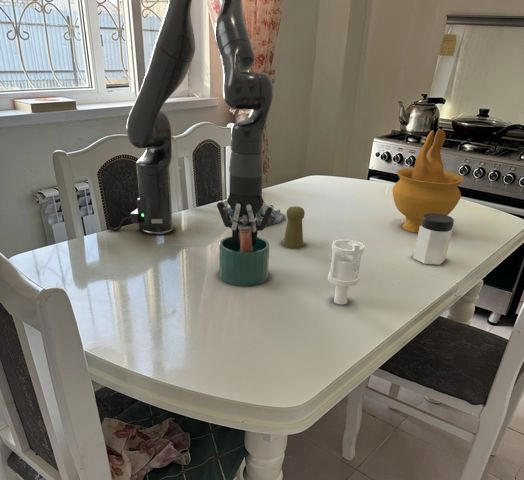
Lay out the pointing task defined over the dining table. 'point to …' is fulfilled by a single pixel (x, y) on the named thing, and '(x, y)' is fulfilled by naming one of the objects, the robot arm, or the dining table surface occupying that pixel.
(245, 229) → the lighter
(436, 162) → the decorative bowl
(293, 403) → the dining table surface
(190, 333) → the dining table surface
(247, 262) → the ceramic cup
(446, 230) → the jar
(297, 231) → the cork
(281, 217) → the tree stump
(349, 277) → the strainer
